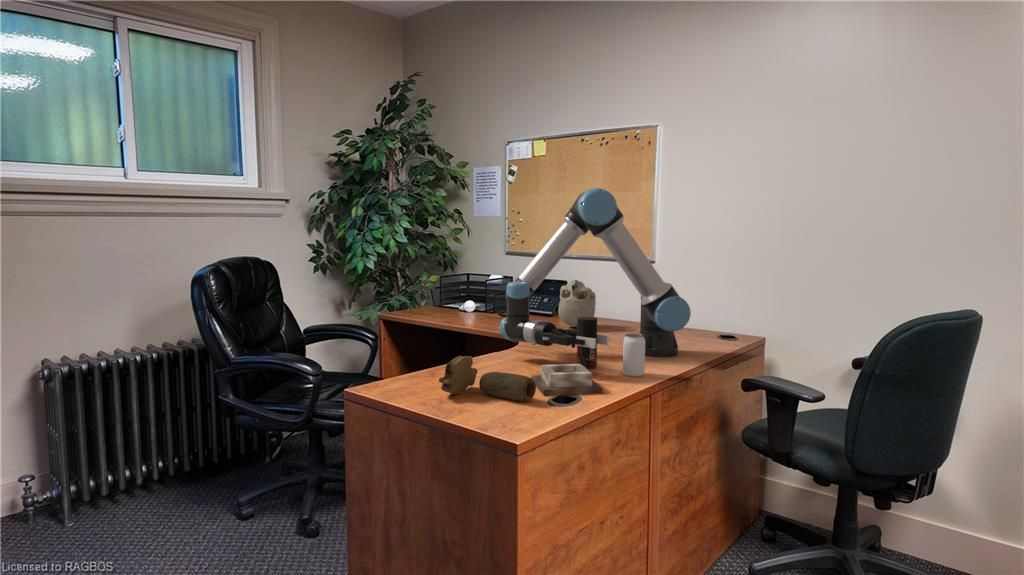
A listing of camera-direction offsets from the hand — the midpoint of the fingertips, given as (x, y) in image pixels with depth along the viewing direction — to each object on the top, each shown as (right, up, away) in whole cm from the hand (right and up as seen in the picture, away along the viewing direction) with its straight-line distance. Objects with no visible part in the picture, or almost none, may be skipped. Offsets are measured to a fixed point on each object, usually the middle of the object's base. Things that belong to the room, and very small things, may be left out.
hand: (601, 341), depth 179 cm
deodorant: (-4, -8, +4) cm, 10 cm away
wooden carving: (-41, -12, -17) cm, 46 cm away
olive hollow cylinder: (-27, -13, -21) cm, 37 cm away
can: (+10, -10, +5) cm, 16 cm away
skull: (+2, -2, +89) cm, 89 cm away
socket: (-11, -11, -10) cm, 19 cm away
